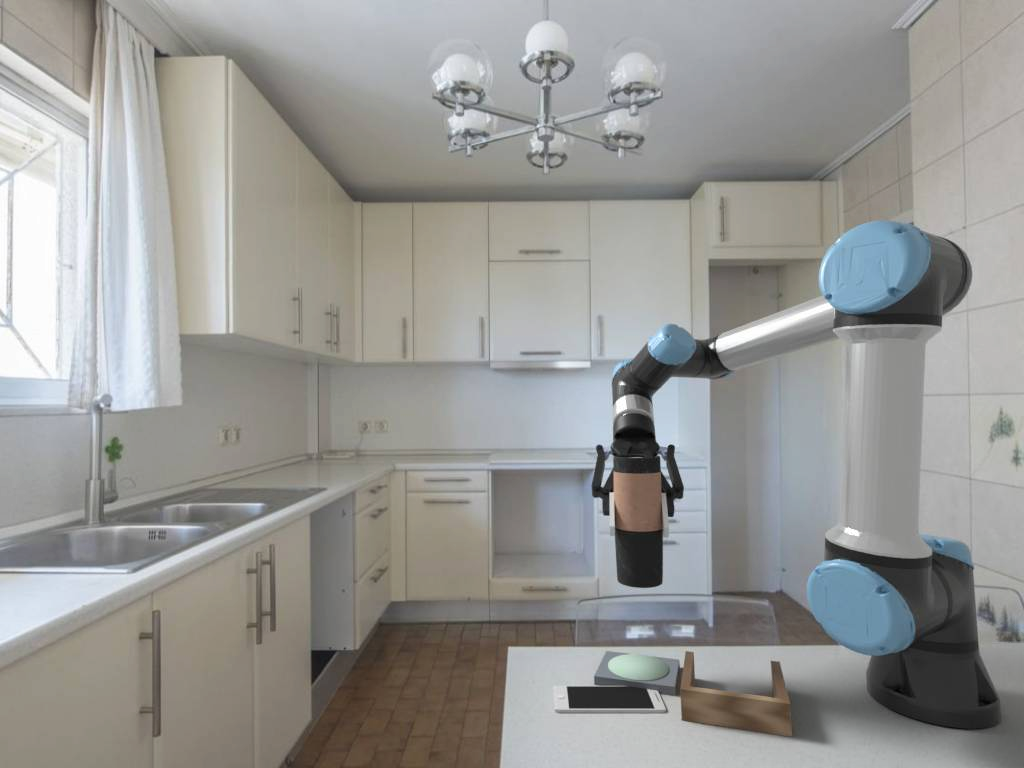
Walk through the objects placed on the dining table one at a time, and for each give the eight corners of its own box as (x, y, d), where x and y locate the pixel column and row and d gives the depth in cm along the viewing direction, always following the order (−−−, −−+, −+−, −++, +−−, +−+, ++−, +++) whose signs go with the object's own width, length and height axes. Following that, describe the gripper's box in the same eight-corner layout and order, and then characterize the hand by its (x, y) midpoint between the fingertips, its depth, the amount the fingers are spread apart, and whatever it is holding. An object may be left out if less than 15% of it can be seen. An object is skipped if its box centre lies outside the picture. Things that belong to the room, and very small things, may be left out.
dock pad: (679, 667, 91) (679, 658, 91) (675, 695, 82) (674, 685, 82) (606, 658, 95) (606, 649, 95) (594, 684, 86) (594, 674, 86)
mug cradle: (781, 689, 83) (779, 661, 83) (792, 736, 71) (790, 704, 71) (686, 677, 88) (685, 651, 88) (681, 719, 75) (680, 689, 75)
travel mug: (616, 587, 86) (613, 457, 87) (614, 573, 94) (612, 454, 95) (667, 589, 85) (663, 457, 86) (661, 575, 93) (658, 454, 94)
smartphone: (553, 691, 85) (553, 684, 85) (656, 691, 84) (655, 684, 84) (554, 715, 78) (554, 708, 78) (666, 716, 77) (666, 709, 77)
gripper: (689, 438, 104) (705, 547, 87) (579, 439, 108) (574, 543, 91) (692, 410, 99) (710, 519, 82) (577, 411, 103) (571, 516, 86)
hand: (639, 531), depth 87 cm, fingers closed on travel mug, 7 cm apart
